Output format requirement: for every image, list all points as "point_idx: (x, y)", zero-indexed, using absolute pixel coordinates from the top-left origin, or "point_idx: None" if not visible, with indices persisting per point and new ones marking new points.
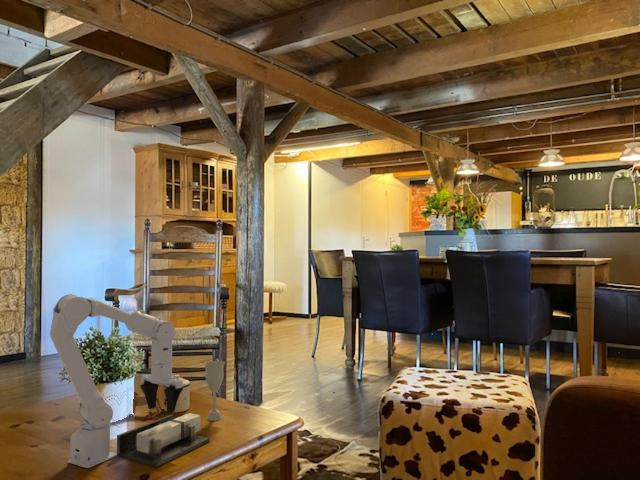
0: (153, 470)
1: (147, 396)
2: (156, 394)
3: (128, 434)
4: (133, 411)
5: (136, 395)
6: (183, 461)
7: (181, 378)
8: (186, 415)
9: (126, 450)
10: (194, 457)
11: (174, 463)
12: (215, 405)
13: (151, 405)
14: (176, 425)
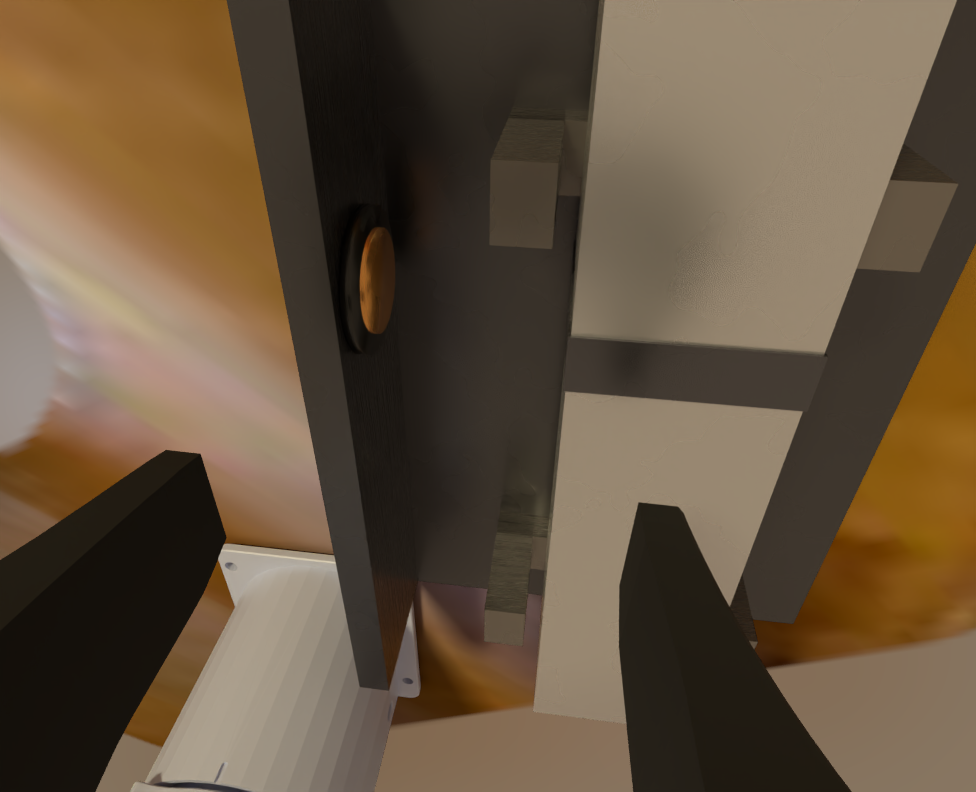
0: (787, 631)
1: (97, 769)
2: (22, 616)
3: (386, 623)
4: None
5: None
6: (943, 496)
7: None
8: (667, 40)
9: (423, 545)
10: None
11: (882, 536)
12: None
13: (194, 555)
14: (775, 474)
